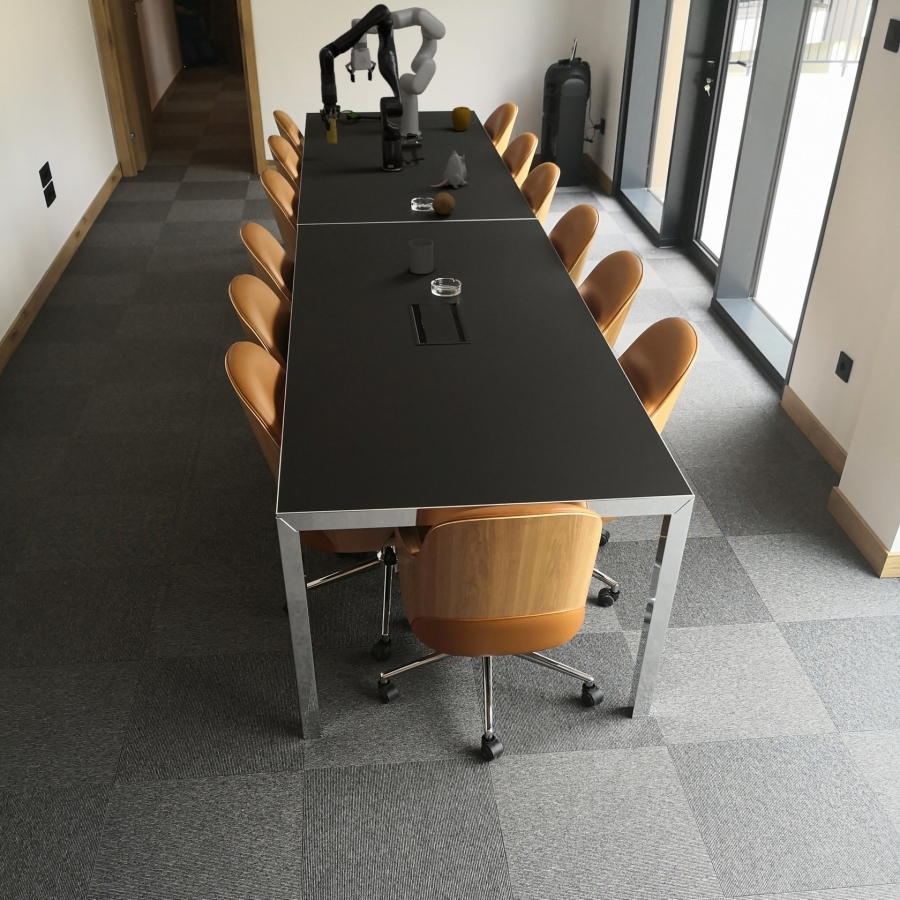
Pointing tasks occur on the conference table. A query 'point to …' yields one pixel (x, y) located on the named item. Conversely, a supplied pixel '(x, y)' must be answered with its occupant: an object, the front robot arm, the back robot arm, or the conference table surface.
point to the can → (332, 132)
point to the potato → (443, 203)
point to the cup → (421, 256)
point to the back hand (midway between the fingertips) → (361, 81)
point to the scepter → (356, 117)
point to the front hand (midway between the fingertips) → (331, 129)
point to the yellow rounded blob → (461, 118)
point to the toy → (454, 171)
